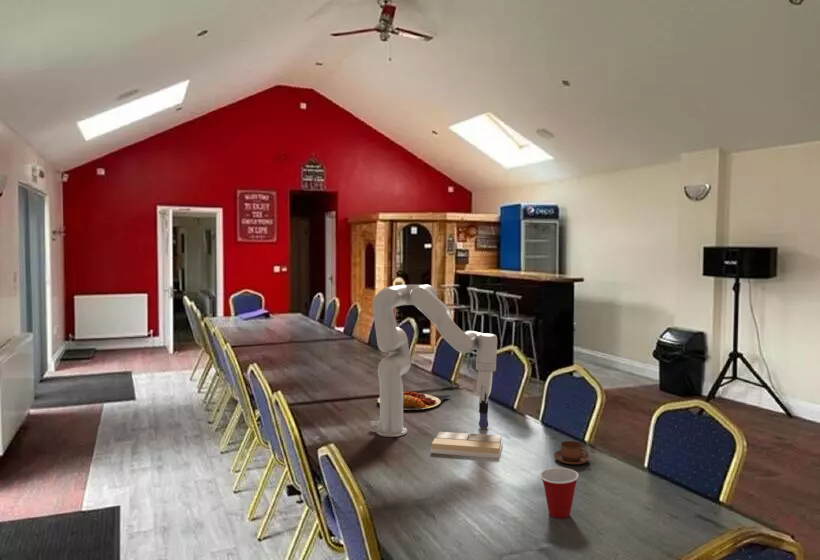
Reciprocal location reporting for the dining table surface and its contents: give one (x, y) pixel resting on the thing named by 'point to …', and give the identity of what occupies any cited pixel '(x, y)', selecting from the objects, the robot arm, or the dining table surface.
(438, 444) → the floor board
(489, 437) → the right plank
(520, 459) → the dining table surface
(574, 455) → the cup and saucer
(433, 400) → the omelette plate
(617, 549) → the dining table surface
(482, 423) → the rubber mallet
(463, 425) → the dining table surface
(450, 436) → the left plank
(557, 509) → the plastic cup
